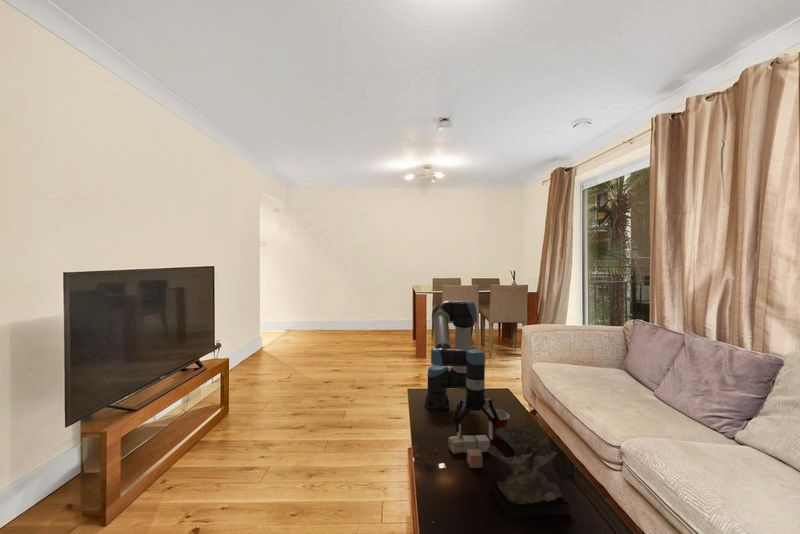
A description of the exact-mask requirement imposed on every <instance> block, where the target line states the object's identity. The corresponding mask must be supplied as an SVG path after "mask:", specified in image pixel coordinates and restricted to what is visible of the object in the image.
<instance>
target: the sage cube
mask: <svg viewBox="0 0 800 534" xmlns="http://www.w3.org/2000/svg"><path fill="white" fill-rule="evenodd" d="M462 440H463V441H464V452H463V453H465V454H467V449H476V440H475V435H462Z"/></svg>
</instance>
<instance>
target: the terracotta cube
mask: <svg viewBox="0 0 800 534" xmlns="http://www.w3.org/2000/svg"><path fill="white" fill-rule="evenodd" d="M466 462H467V464H468V465H469V468H470V469H477V468H478V469H479V468H483V454H482V452H480V451H479V449H467V453H466Z"/></svg>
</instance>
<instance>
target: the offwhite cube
mask: <svg viewBox="0 0 800 534" xmlns="http://www.w3.org/2000/svg"><path fill="white" fill-rule="evenodd" d="M474 438H475V440H476V449H479V451H480V452H481V453H487V452H488V453H489V451H488V447H490V446H491V445H490V443H491V439H490V438H488V436H487V435H486V434H480V435H474Z"/></svg>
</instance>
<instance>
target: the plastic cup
mask: <svg viewBox="0 0 800 534" xmlns="http://www.w3.org/2000/svg"><path fill="white" fill-rule="evenodd" d="M494 409H495V411H496V413H497V416H498V418H499V420H500V421H499V422H496V424H495V430H496V429H498V428H501V427H507V424H508V420H509V419H510V417H511V416H510V414H509V413H508V412H507V411H505V410H502V409H499V408H498V409H497V408H494ZM486 411H487V412H488V413H489V414H490V415H491V417H492V418H494V416H493V414H492V412H491V409H490V408H489V409H486ZM487 420H488V422H489V421H491V420H490V419H489V418H488V417H487ZM495 430H494V431H493V440H495V441H502V440H503V439H501V438H500V437H499V436H497V435H496V434H495ZM503 441H504V440H503Z"/></svg>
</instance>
